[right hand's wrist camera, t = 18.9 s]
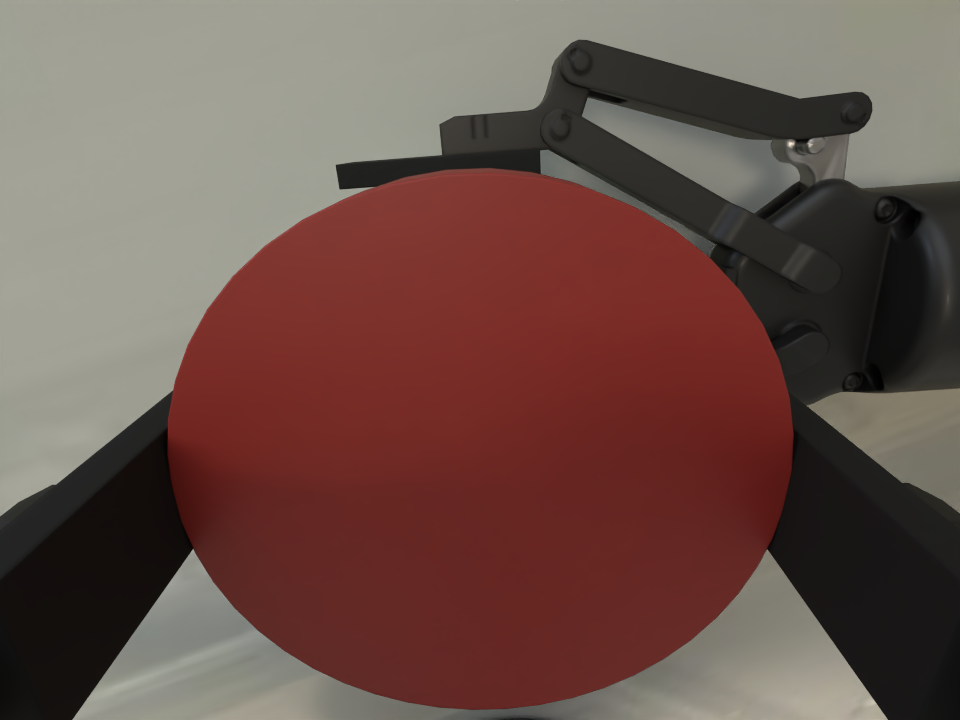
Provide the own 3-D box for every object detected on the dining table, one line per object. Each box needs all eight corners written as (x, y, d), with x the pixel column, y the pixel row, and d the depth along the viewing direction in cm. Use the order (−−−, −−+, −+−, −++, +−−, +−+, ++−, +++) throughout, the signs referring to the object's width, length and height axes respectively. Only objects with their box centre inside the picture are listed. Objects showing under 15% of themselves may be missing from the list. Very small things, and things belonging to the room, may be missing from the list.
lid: (471, 712, 15) (471, 779, 13) (99, 441, 12) (41, 486, 10) (855, 459, 12) (912, 507, 10) (494, 11, 9) (497, -18, 7)
